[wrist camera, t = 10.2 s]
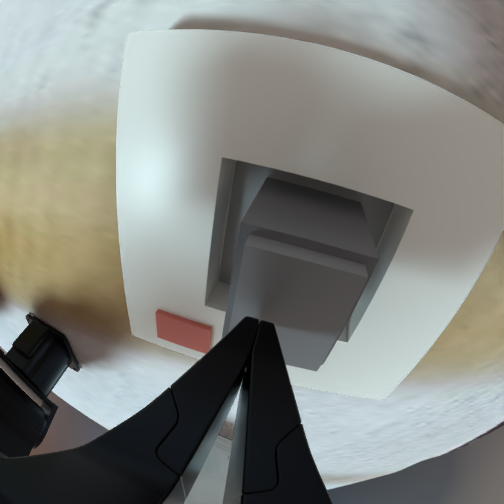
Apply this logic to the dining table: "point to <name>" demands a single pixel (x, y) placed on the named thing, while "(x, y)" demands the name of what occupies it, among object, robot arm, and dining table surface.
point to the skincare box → (212, 475)
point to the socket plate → (305, 174)
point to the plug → (300, 268)
